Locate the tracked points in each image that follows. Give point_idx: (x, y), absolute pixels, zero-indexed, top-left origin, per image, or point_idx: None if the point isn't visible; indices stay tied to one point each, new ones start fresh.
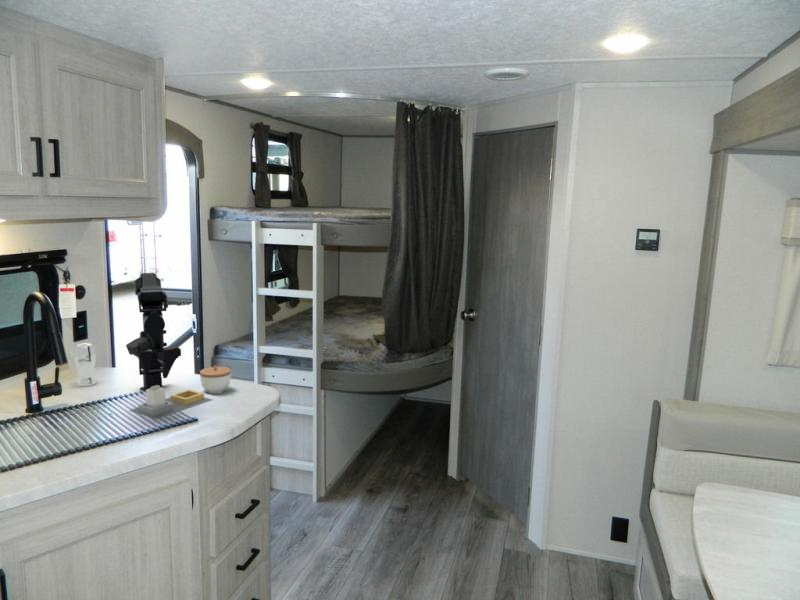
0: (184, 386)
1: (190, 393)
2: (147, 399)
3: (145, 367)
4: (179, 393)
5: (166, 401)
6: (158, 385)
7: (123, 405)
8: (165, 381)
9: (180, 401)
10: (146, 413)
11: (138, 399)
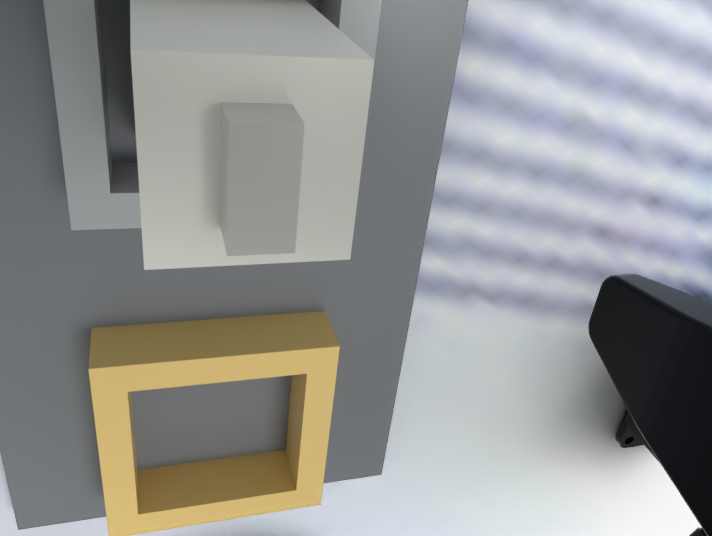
0: (520, 517)
1: (267, 476)
2: (301, 18)
3: (707, 372)
4: (305, 415)
5: None
6: (247, 246)
7: (677, 26)
8: None
9: (175, 335)
10: None
11: (647, 201)
